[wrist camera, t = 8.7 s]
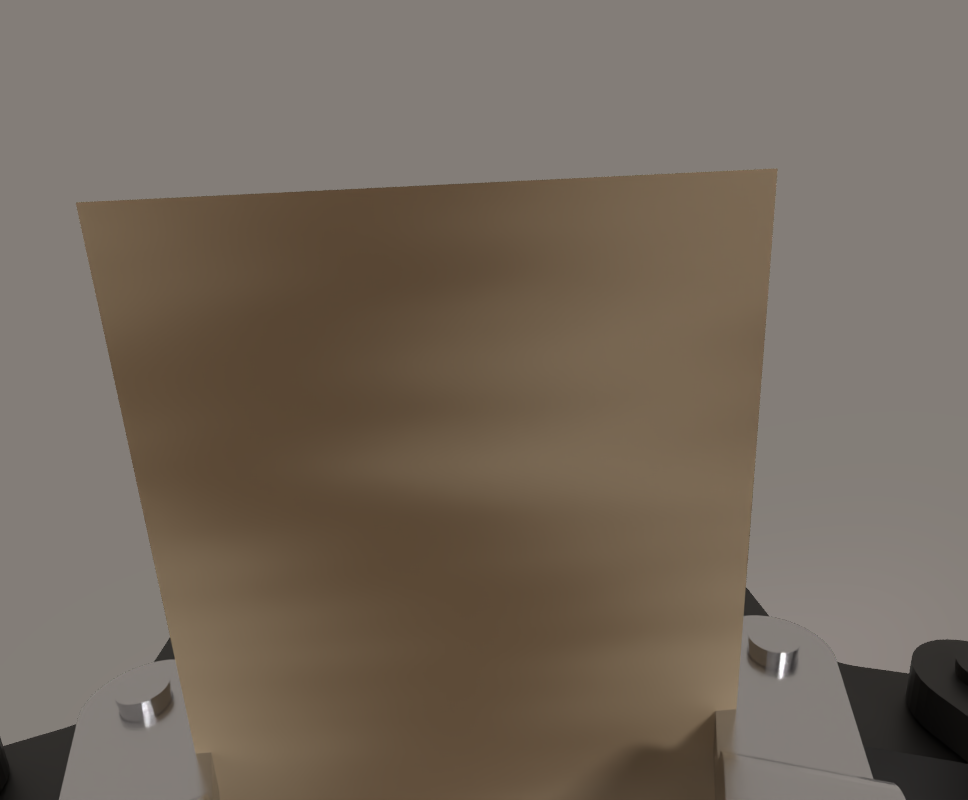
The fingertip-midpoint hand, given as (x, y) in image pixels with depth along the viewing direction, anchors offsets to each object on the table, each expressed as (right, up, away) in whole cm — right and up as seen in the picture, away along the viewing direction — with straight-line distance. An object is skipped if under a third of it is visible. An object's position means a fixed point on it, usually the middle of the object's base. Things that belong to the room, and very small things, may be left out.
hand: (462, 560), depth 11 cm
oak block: (+1, -8, 0) cm, 8 cm away
